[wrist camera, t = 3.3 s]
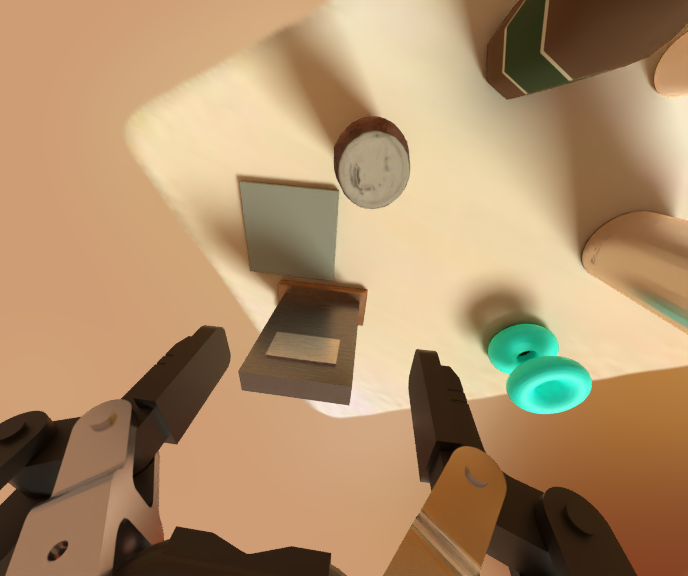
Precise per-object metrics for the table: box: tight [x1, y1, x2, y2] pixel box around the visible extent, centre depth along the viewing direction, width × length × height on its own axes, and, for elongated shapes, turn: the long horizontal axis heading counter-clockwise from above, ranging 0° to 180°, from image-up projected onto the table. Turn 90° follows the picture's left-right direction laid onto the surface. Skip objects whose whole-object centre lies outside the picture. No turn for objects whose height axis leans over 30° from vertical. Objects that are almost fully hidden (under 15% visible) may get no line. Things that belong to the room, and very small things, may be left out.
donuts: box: [488, 324, 592, 414], centre depth 39 cm, size 10×10×10 cm
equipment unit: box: [238, 280, 367, 405], centre depth 35 cm, size 14×6×18 cm, turn 86°
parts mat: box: [239, 181, 339, 281], centre depth 37 cm, size 13×13×1 cm
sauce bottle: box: [334, 117, 410, 209], centre depth 23 cm, size 6×6×20 cm
